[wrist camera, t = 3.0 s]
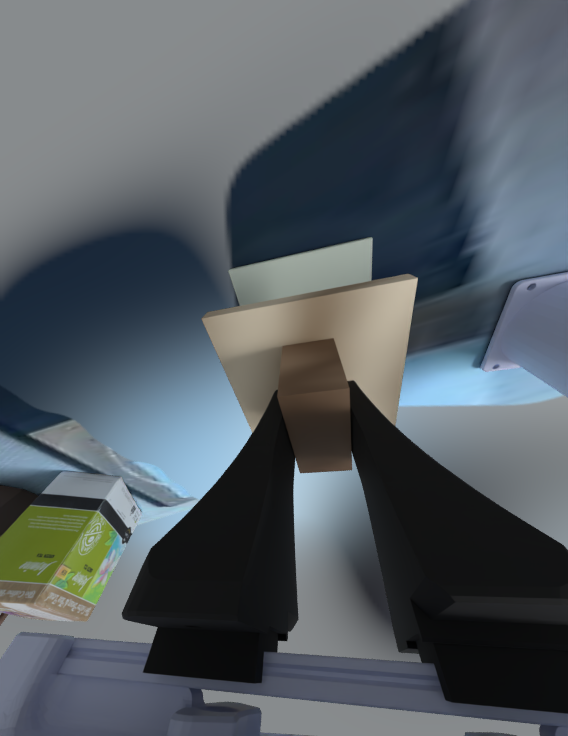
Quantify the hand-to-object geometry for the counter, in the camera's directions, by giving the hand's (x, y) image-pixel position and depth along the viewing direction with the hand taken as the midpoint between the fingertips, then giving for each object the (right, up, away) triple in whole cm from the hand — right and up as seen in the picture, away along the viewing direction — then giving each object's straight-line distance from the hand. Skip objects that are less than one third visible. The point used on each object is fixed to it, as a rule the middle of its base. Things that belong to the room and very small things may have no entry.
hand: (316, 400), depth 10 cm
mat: (0, +6, +7) cm, 9 cm away
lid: (0, +1, +2) cm, 2 cm away
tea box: (-34, -22, +29) cm, 50 cm away
